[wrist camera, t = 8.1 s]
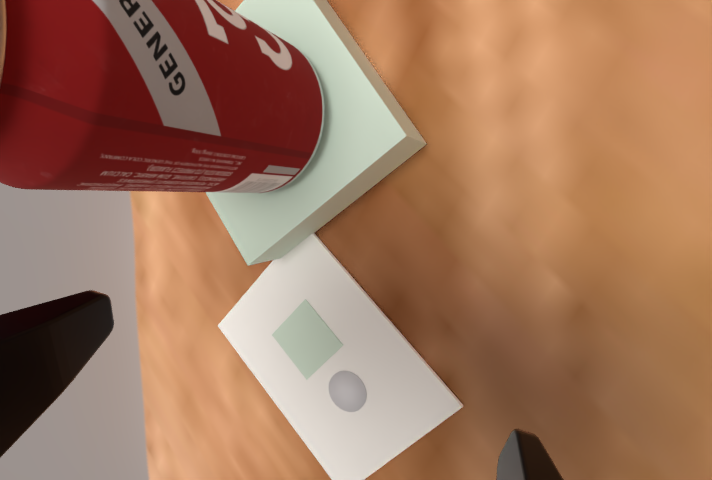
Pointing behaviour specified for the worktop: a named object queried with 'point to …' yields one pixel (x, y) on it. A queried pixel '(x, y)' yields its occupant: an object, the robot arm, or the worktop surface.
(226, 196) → the base brick
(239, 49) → the soda can
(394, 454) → the page
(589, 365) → the worktop surface
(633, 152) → the worktop surface
